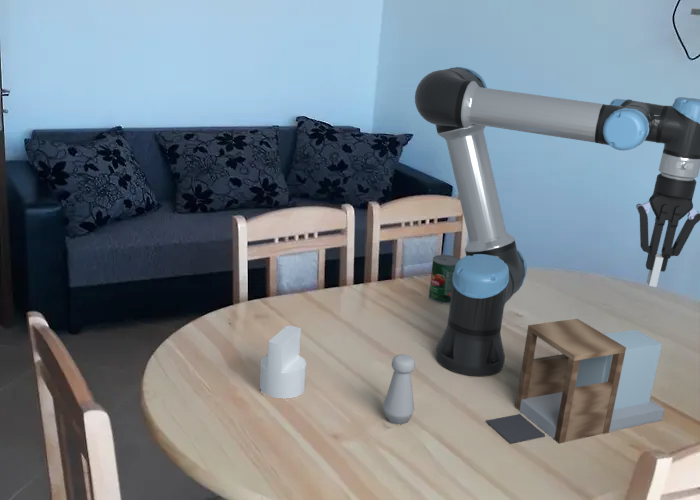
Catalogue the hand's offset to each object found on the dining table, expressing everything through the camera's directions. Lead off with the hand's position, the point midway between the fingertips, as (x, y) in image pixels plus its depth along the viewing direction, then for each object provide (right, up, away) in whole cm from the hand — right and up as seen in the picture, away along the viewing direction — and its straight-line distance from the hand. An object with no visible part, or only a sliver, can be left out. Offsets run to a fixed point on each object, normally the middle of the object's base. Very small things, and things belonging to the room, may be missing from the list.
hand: (651, 284), depth 164 cm
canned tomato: (-39, -6, +45) cm, 59 cm away
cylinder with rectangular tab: (-78, -21, -9) cm, 81 cm away
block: (-11, -23, -8) cm, 27 cm away
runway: (-16, -26, -9) cm, 32 cm away
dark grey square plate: (-33, -27, -17) cm, 45 cm away
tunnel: (-23, -26, -12) cm, 37 cm away
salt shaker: (-55, -25, -16) cm, 63 cm away
